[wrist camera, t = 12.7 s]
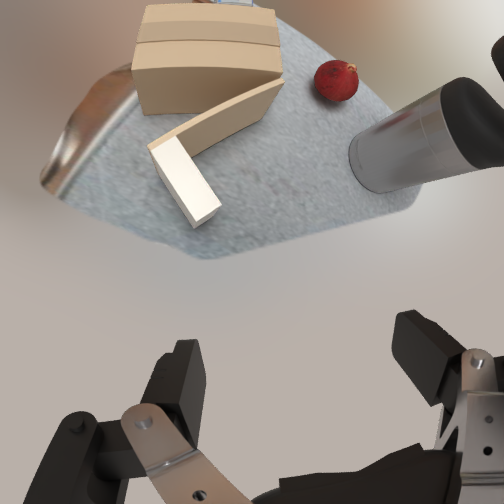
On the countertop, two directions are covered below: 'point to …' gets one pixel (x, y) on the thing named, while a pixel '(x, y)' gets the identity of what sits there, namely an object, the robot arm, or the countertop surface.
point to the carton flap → (200, 138)
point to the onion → (336, 80)
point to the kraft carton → (203, 55)
